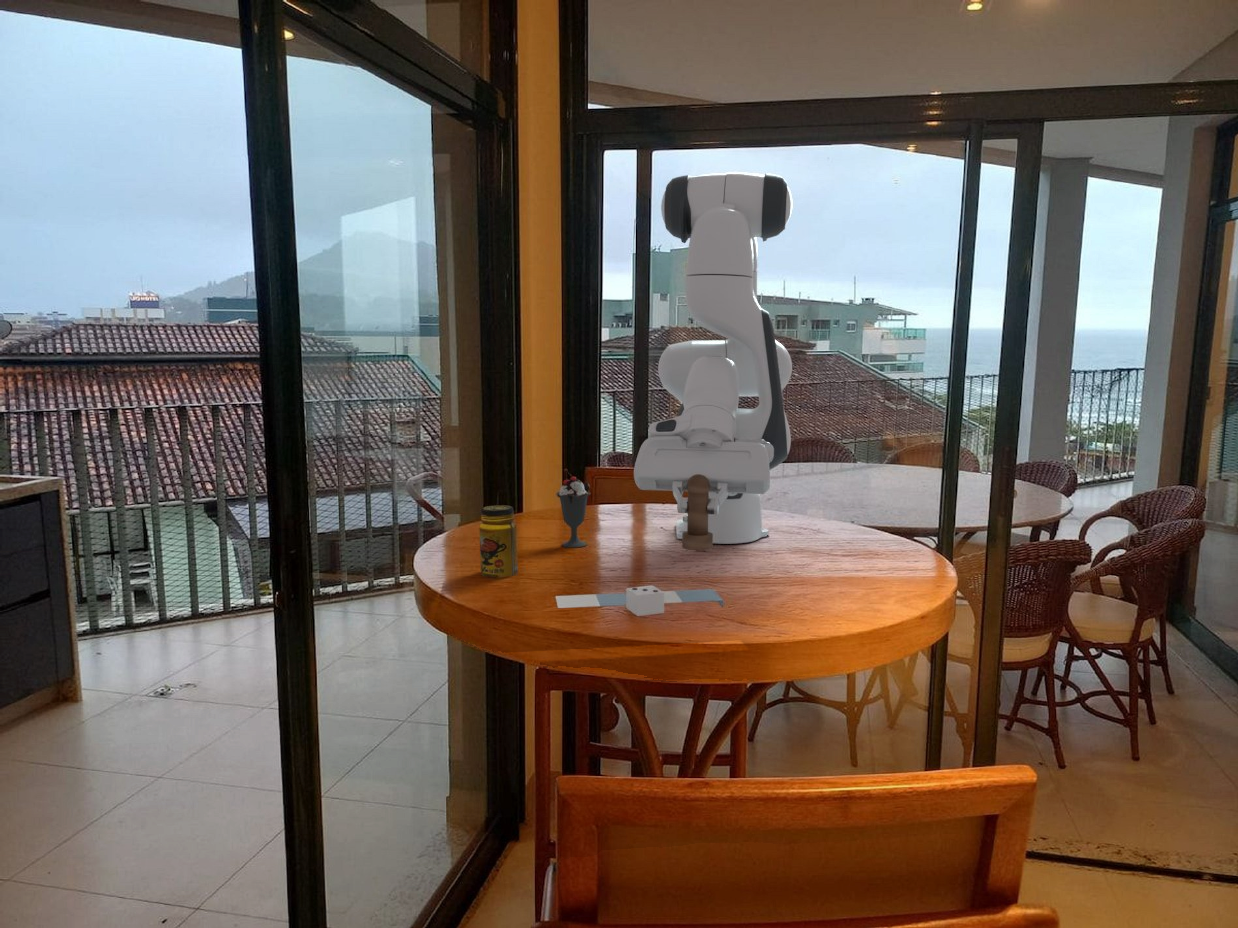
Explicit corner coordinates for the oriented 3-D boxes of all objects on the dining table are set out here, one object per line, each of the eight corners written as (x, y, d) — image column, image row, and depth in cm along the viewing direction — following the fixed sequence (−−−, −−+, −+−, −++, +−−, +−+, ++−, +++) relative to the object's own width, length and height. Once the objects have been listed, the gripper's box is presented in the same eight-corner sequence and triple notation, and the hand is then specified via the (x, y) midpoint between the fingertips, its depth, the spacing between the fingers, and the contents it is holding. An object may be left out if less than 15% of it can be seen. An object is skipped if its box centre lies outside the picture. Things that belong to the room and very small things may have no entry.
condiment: (474, 584, 138) (472, 511, 137) (483, 571, 147) (481, 502, 145) (520, 584, 138) (518, 511, 137) (526, 571, 147) (524, 501, 145)
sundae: (552, 548, 164) (551, 469, 162) (563, 540, 170) (561, 465, 168) (585, 549, 162) (585, 470, 160) (595, 542, 168) (594, 466, 166)
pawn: (676, 545, 127) (677, 473, 125) (703, 542, 128) (704, 471, 127) (691, 551, 123) (692, 476, 121) (718, 548, 124) (719, 475, 123)
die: (626, 615, 122) (626, 587, 121) (652, 612, 123) (652, 584, 123) (637, 623, 118) (637, 594, 118) (664, 620, 120) (664, 591, 119)
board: (555, 602, 128) (555, 596, 128) (713, 595, 131) (713, 589, 131) (558, 614, 122) (558, 607, 122) (723, 606, 125) (723, 600, 125)
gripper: (774, 453, 133) (770, 527, 125) (644, 449, 137) (632, 520, 129) (774, 426, 128) (770, 501, 120) (639, 423, 132) (626, 495, 124)
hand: (697, 511), depth 124 cm, fingers closed on pawn, 3 cm apart
